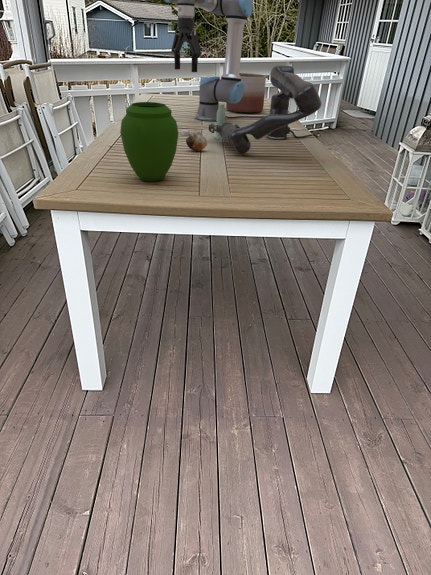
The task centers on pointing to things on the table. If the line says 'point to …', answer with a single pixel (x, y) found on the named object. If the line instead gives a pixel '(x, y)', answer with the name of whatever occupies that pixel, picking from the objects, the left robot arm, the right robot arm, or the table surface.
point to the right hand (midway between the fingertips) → (220, 125)
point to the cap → (185, 132)
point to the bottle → (220, 118)
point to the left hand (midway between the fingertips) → (185, 70)
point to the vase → (149, 139)
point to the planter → (250, 94)
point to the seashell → (196, 141)
